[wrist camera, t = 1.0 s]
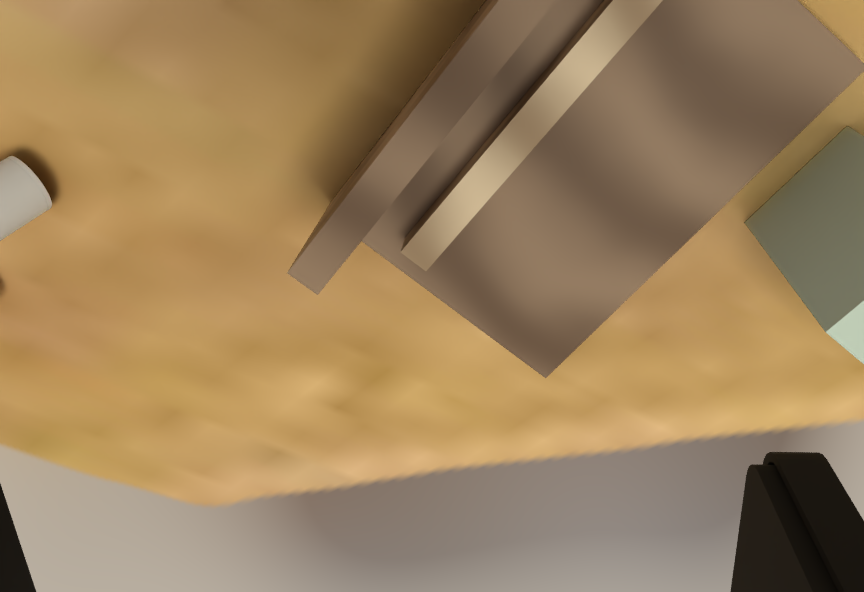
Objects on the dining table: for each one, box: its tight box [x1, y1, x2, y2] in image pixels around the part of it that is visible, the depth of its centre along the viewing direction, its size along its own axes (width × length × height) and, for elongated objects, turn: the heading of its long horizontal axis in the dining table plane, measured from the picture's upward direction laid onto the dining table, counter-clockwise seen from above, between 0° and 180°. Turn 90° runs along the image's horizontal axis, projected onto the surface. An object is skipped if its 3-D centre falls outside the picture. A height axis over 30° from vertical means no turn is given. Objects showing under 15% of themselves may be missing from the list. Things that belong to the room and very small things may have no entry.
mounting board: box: [287, 0, 864, 378], centre depth 33 cm, size 20×14×8 cm
